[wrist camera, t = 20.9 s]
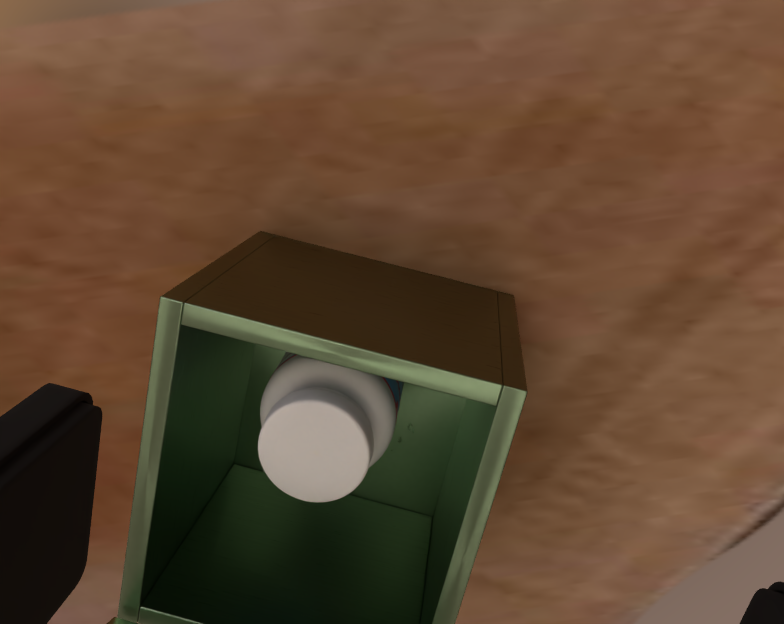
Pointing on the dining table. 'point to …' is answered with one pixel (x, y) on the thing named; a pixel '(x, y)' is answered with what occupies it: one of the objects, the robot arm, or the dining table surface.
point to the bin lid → (120, 621)
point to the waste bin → (383, 479)
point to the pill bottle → (324, 426)
